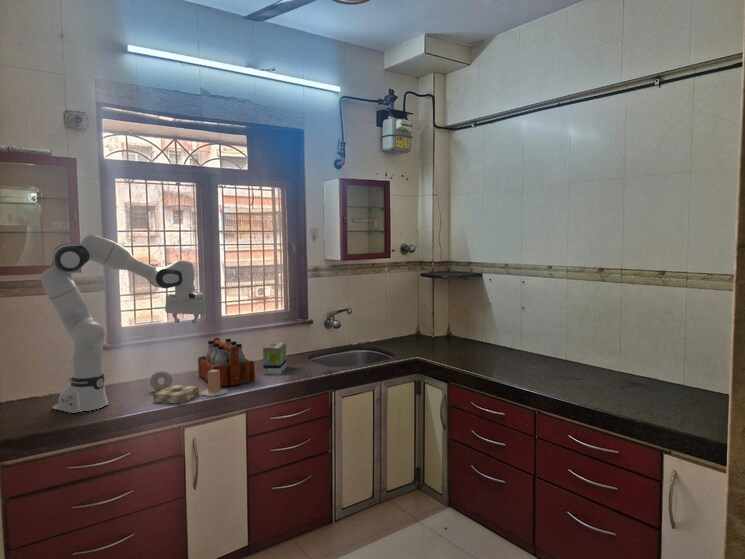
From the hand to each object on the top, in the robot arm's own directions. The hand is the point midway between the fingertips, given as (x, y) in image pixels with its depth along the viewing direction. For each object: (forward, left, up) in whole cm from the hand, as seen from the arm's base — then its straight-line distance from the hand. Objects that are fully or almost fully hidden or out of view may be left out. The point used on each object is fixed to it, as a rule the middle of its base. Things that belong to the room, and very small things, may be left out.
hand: (185, 323), depth 239 cm
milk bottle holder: (+7, +23, -33) cm, 41 cm away
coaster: (+14, +1, -33) cm, 36 cm away
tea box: (+25, +44, -34) cm, 61 cm away
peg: (+14, +1, -33) cm, 35 cm away
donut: (-13, -2, -33) cm, 36 cm away
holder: (+2, -11, -33) cm, 35 cm away
